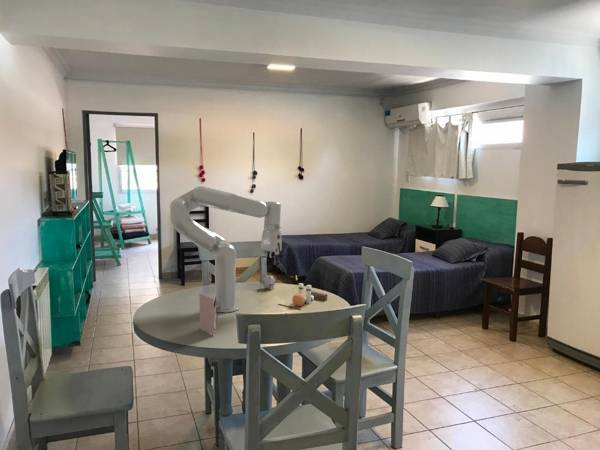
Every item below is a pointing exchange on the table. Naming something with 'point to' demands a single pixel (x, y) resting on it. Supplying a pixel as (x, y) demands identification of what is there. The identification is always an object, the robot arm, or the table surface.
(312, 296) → the front pin
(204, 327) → the greeting card
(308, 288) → the pin
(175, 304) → the table surface
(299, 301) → the ball
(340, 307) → the table surface
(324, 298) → the backstop wall
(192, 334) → the table surface
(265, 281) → the game die
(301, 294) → the pin
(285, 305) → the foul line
